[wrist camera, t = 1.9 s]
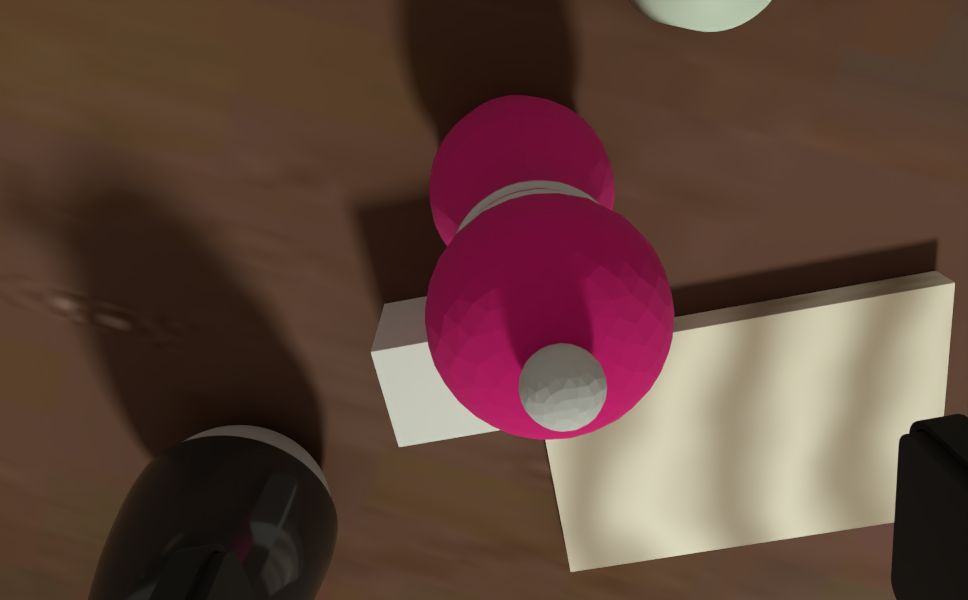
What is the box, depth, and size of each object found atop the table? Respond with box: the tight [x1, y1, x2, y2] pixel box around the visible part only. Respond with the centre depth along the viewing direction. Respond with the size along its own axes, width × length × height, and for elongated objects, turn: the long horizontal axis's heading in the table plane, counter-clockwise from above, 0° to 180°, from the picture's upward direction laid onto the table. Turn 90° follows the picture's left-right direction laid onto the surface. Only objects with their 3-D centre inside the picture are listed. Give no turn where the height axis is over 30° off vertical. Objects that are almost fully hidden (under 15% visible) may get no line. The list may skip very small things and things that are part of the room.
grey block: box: [371, 296, 500, 447], centre depth 33 cm, size 5×5×5 cm
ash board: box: [545, 271, 955, 572], centre depth 37 cm, size 20×14×2 cm
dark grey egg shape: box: [88, 425, 338, 600], centre depth 32 cm, size 10×10×15 cm
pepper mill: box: [425, 95, 674, 440], centre depth 23 cm, size 7×7×20 cm
